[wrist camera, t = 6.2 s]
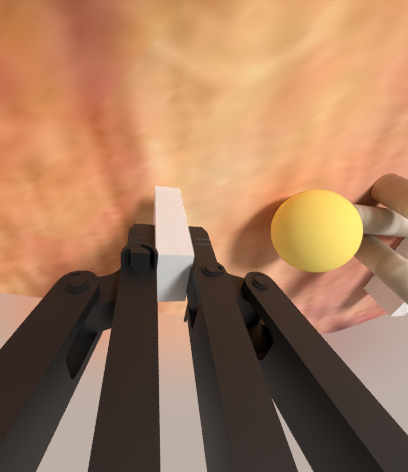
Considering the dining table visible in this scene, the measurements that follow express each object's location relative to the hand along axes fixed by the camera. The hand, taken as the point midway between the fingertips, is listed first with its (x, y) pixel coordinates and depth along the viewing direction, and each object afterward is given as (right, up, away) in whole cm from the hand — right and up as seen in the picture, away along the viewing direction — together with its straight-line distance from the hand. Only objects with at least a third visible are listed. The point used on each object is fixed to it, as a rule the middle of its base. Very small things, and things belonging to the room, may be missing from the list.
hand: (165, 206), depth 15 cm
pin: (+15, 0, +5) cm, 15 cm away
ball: (+10, -2, +2) cm, 11 cm away
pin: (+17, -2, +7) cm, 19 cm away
